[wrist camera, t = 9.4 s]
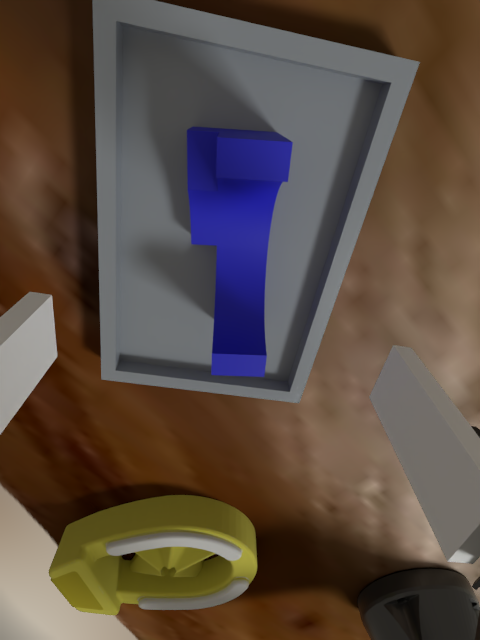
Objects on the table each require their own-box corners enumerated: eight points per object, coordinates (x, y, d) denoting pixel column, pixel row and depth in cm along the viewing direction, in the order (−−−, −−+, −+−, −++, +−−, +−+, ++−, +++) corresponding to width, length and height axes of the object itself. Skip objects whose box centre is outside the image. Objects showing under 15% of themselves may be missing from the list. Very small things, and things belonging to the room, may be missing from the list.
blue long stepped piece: (192, 126, 19) (178, 134, 14) (276, 132, 19) (292, 142, 14) (194, 319, 25) (184, 374, 20) (257, 321, 26) (264, 376, 20)
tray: (295, 386, 30) (299, 403, 28) (109, 362, 28) (101, 379, 26) (402, 65, 19) (419, 62, 17) (106, -3, 17) (92, -15, 15)
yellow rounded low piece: (52, 502, 38) (29, 553, 34) (247, 484, 37) (249, 534, 33) (101, 578, 46) (88, 626, 42) (261, 565, 46) (264, 613, 41)
